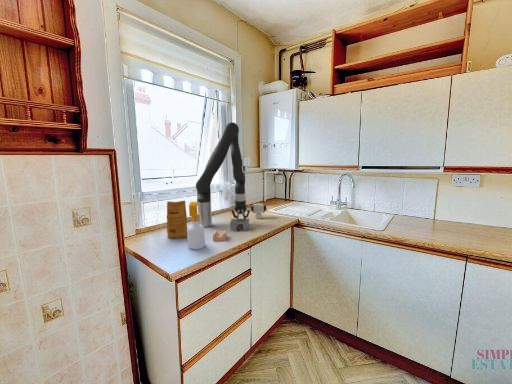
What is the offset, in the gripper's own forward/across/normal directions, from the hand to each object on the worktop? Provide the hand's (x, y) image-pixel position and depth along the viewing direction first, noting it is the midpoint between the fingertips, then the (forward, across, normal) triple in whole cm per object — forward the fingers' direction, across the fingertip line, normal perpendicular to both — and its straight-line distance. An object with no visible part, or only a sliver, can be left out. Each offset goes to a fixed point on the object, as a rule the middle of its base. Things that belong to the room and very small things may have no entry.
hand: (241, 223), depth 166 cm
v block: (0, +10, +29) cm, 31 cm away
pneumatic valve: (+1, -12, -14) cm, 19 cm away
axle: (0, 0, +7) cm, 7 cm away
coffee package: (0, +38, +23) cm, 44 cm away
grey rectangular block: (0, 0, +12) cm, 12 cm away
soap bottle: (+1, +21, +40) cm, 46 cm away
